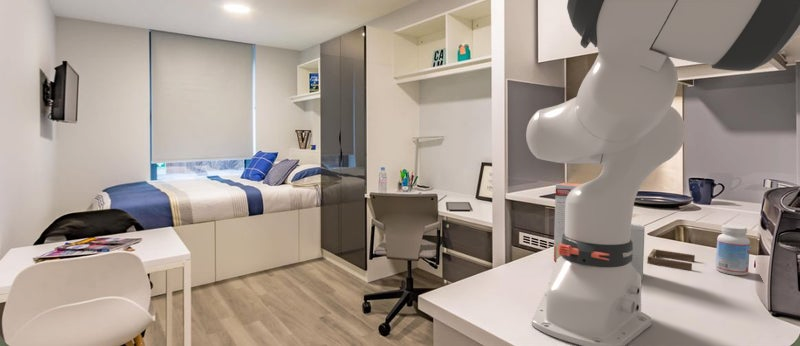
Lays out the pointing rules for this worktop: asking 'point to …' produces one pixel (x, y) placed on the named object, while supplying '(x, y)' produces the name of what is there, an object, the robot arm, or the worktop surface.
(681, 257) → the stop
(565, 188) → the cracker box
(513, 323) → the worktop surface
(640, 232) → the skincare box
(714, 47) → the robot arm
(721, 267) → the pill bottle
